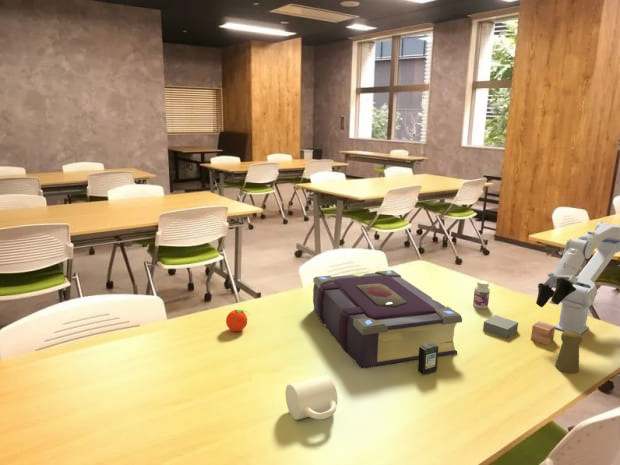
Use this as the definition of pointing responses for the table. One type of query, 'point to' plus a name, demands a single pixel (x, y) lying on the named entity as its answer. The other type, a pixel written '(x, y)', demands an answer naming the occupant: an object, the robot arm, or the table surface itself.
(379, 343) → the book
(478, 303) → the pill bottle
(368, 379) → the table surface
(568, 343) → the cork
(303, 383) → the mug
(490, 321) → the gray block
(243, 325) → the clementine
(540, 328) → the terracotta cube
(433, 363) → the ink cartridge
